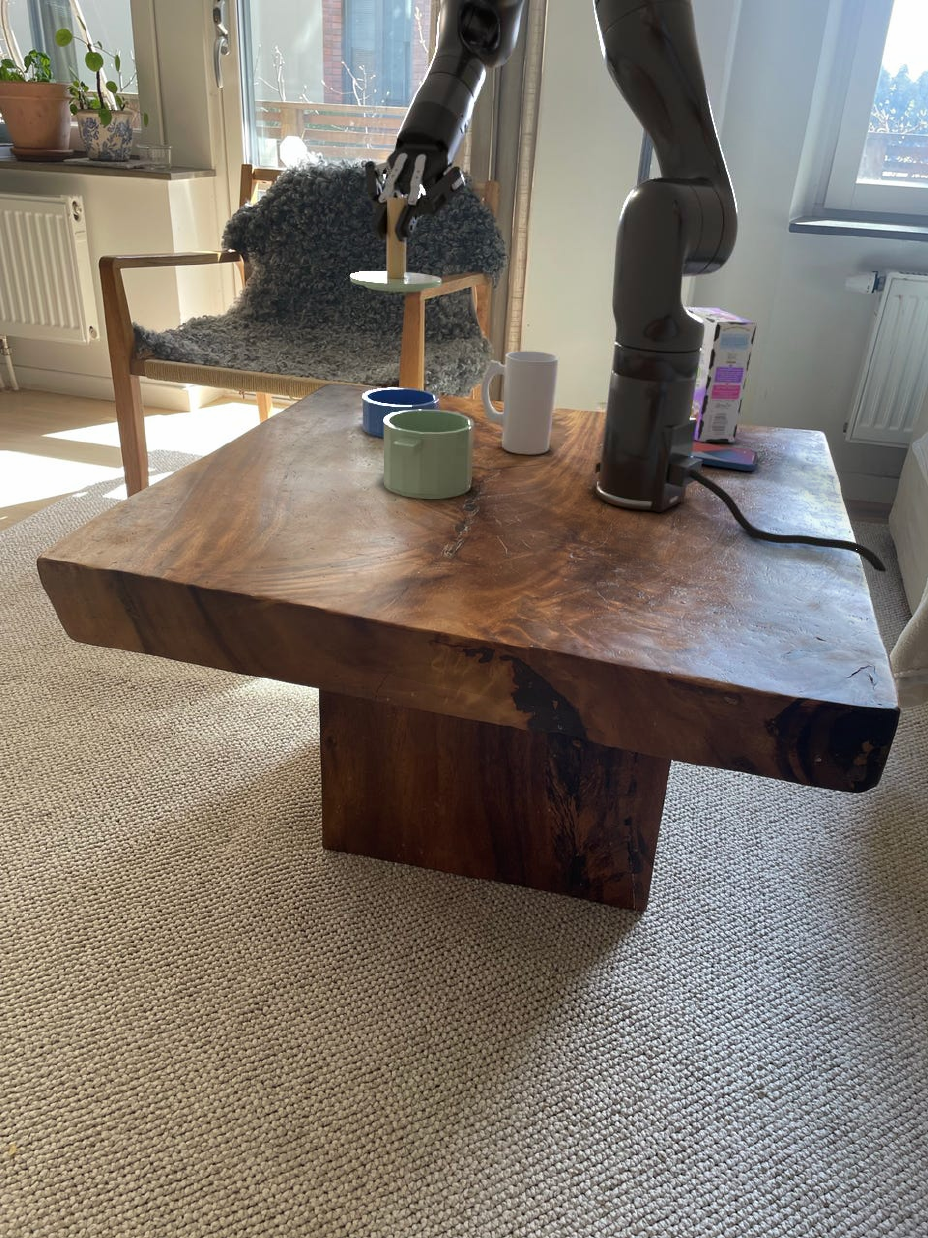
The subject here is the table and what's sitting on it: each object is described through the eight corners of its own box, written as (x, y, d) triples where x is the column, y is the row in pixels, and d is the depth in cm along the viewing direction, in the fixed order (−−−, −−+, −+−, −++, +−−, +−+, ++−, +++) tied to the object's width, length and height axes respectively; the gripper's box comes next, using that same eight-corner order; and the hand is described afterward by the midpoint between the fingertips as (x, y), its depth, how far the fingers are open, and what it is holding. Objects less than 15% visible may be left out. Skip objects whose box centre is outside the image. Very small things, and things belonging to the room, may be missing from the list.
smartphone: (753, 473, 113) (755, 465, 113) (636, 455, 117) (637, 447, 116) (755, 458, 119) (757, 450, 119) (644, 441, 123) (645, 433, 123)
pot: (488, 471, 109) (492, 410, 106) (445, 512, 96) (448, 444, 93) (411, 459, 112) (412, 400, 108) (359, 498, 99) (358, 432, 95)
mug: (556, 445, 120) (565, 354, 115) (542, 458, 115) (550, 363, 109) (487, 434, 123) (491, 346, 118) (469, 447, 118) (474, 354, 112)
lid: (459, 289, 112) (463, 200, 108) (398, 296, 104) (399, 201, 100) (394, 278, 119) (395, 194, 114) (331, 284, 111) (329, 194, 106)
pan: (452, 429, 125) (453, 397, 123) (402, 444, 118) (403, 410, 116) (398, 415, 131) (398, 384, 129) (347, 428, 123) (346, 395, 121)
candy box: (736, 443, 125) (759, 322, 117) (696, 443, 124) (716, 321, 116) (700, 417, 137) (718, 305, 129) (663, 417, 136) (680, 304, 128)
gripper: (377, 96, 110) (326, 208, 106) (479, 100, 105) (431, 216, 101) (396, 146, 117) (350, 252, 113) (494, 151, 112) (449, 262, 108)
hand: (388, 235), depth 107 cm, fingers closed on lid, 2 cm apart
